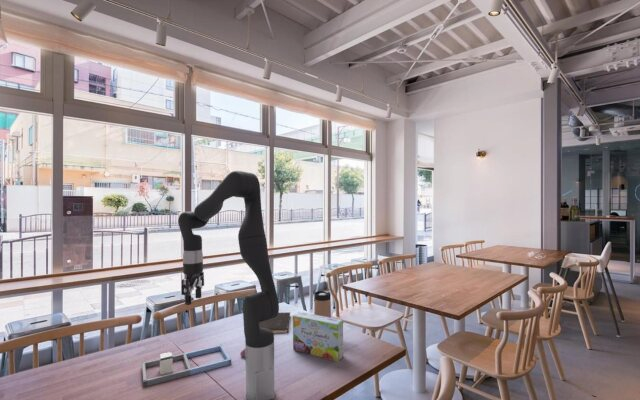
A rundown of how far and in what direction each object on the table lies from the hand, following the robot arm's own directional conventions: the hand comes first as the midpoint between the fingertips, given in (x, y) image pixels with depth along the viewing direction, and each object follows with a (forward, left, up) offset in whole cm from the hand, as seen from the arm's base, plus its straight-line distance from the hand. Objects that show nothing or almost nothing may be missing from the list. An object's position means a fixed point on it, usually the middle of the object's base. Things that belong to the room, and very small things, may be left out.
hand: (193, 301), depth 134 cm
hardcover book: (+17, -40, -24) cm, 50 cm away
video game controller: (-7, -21, -23) cm, 32 cm away
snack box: (-22, -44, -23) cm, 55 cm away
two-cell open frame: (-5, +4, -23) cm, 24 cm away
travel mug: (-9, -54, -23) cm, 60 cm away
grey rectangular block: (-5, +11, -23) cm, 26 cm away
